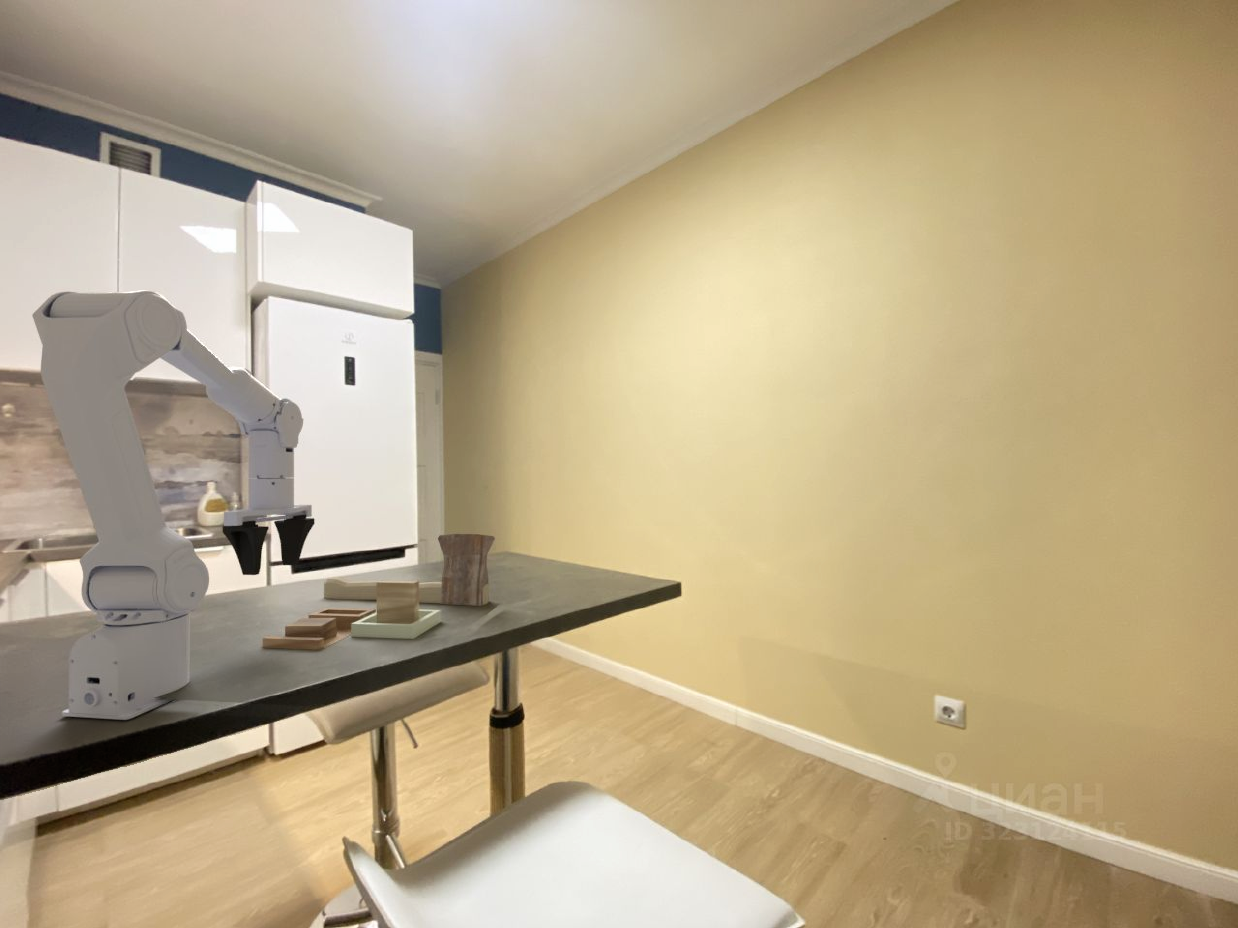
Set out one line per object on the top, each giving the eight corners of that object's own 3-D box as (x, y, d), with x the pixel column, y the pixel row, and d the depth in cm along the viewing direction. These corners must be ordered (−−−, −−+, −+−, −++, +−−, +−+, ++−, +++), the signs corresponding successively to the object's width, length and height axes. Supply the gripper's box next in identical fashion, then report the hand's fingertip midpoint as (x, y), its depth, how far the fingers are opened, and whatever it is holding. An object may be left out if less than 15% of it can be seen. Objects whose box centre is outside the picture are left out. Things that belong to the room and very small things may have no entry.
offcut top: (321, 634, 74) (321, 625, 74) (285, 634, 74) (285, 626, 74) (336, 626, 78) (336, 617, 78) (302, 626, 78) (302, 618, 78)
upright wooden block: (413, 633, 80) (413, 583, 80) (376, 631, 80) (376, 582, 81) (418, 630, 81) (418, 581, 81) (382, 628, 82) (382, 580, 82)
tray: (413, 645, 76) (413, 625, 76) (351, 643, 77) (351, 623, 77) (441, 627, 84) (441, 609, 84) (384, 625, 86) (384, 608, 86)
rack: (321, 656, 72) (321, 634, 72) (260, 654, 73) (260, 632, 73) (380, 626, 85) (380, 607, 85) (329, 624, 87) (329, 606, 87)
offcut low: (317, 643, 74) (317, 635, 74) (284, 642, 74) (284, 634, 74) (336, 634, 78) (336, 626, 78) (305, 633, 78) (305, 625, 78)
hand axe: (501, 607, 97) (498, 531, 97) (494, 612, 94) (490, 534, 94) (333, 606, 104) (330, 536, 104) (320, 611, 101) (318, 538, 101)
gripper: (256, 479, 72) (256, 579, 72) (328, 477, 86) (328, 561, 86) (210, 479, 73) (210, 578, 72) (289, 477, 87) (289, 560, 87)
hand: (271, 569), depth 79 cm, fingers open, 7 cm apart
